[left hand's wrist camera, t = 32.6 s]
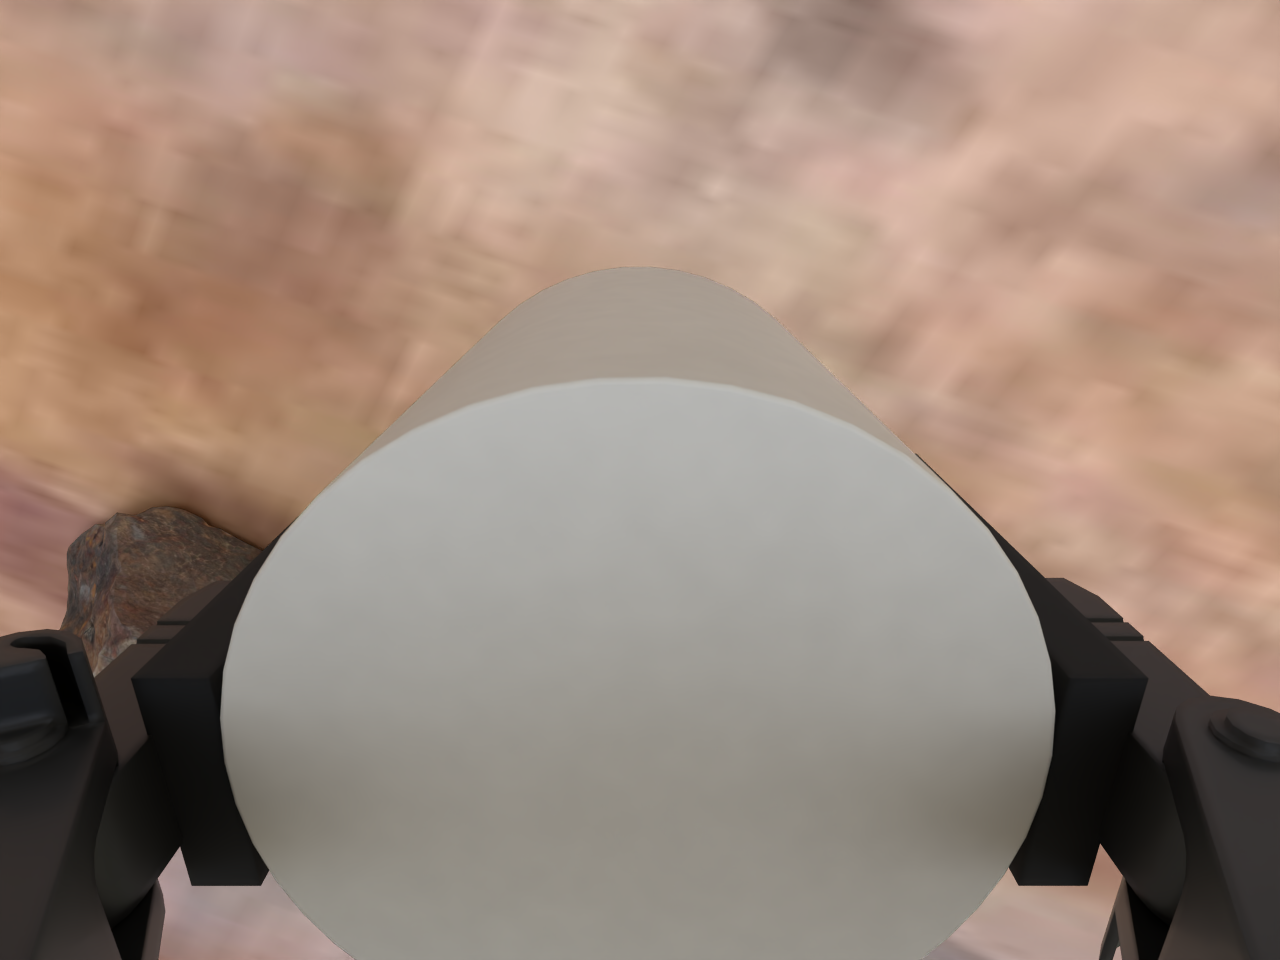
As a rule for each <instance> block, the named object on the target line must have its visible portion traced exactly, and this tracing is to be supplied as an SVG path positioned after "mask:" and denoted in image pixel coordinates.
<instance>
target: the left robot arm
mask: <svg viewBox="0 0 1280 960" xmlns="http://www.w3.org/2000/svg"><path fill="white" fill-rule="evenodd" d="M915 455H916V456H917V457H918V458H919V459H920V460H922V459H921V458H920V457H919V456H918V455H917V454H915ZM922 461H923V460H922ZM923 462H924V461H923ZM924 463H925V462H924ZM925 464H926V463H925ZM926 465H927V464H926ZM927 466H928V465H927ZM928 467H929V468H930V469H931V470H932V471H933V472H934V473H935V474H936V475H937V476H938V477H939V478H940V479H941V480H942V481H943V482H944V483H945V484H946V485H947V486H948V487H949V488H950V489H951V490H952V491H953V492H954V493H955V494H956V495H957V496H958V497H959V498H960V499H961V500H962V501H963V502H964V504H965V505H966V506H967V507H968V508H969V509H970V510H971V511H972V512H973V513H974V514H975V515H976V516H977V517H978V518H979V519H980V521H981V522H982V523H983V524H984V525H985V526H986V527H987V528H988V529H989V531H990V532H991V533H992V535H993V536H994V538H995V539H996V541H997V542H998V544H999V545H1000V547H1001V548H1002V550H1003V551H1004V553H1005V554H1006V556H1007V557H1008V559H1009V560H1010V562H1011V563H1012V564H1013V566H1014V567H1015V569H1016V570H1017V572H1018V574H1019V576H1020V578H1021V580H1022V583H1023V585H1024V587H1025V589H1026V591H1027V593H1028V596H1029V598H1030V600H1031V602H1032V604H1033V606H1034V609H1035V611H1036V613H1037V615H1038V617H1039V621H1040V625H1041V629H1042V632H1043V636H1044V640H1045V643H1046V647H1047V651H1048V655H1049V658H1050V662H1051V670H1052V681H1053V691H1054V702H1055V723H1054V737H1053V751H1052V758H1051V762H1050V767H1049V771H1048V775H1047V779H1046V783H1045V788H1044V792H1043V796H1042V799H1041V802H1040V804H1039V806H1038V809H1037V811H1036V814H1035V816H1034V819H1033V821H1032V824H1031V826H1030V829H1029V831H1028V834H1027V836H1026V838H1025V840H1024V842H1023V843H1022V845H1021V847H1020V848H1019V850H1018V852H1017V854H1016V855H1015V857H1014V859H1013V860H1012V862H1011V864H1010V865H1009V869H1010V871H1011V872H1012V874H1013V876H1014V878H1015V880H1016V882H1017V884H1018V885H1019V886H1088V883H1089V879H1090V876H1091V872H1092V869H1093V866H1094V862H1095V859H1096V855H1097V852H1098V849H1099V845H1100V844H1101V845H1102V846H1103V848H1104V849H1105V851H1106V852H1107V854H1108V855H1109V856H1110V858H1111V859H1112V861H1113V862H1114V864H1115V865H1116V866H1117V868H1118V869H1119V871H1120V872H1121V874H1122V875H1123V878H1122V881H1121V884H1120V887H1119V890H1118V894H1117V897H1116V900H1115V903H1114V906H1113V909H1112V913H1111V916H1110V919H1109V922H1108V925H1107V928H1106V932H1105V935H1104V938H1103V941H1102V944H1101V950H1100V956H1099V960H1113V957H1114V954H1115V951H1116V948H1117V947H1119V946H1120V948H1121V955H1122V960H1280V713H1278V712H1276V711H1274V710H1272V709H1269V708H1266V707H1262V706H1259V705H1256V704H1252V703H1249V702H1246V701H1242V700H1239V699H1232V698H1224V697H1216V696H1210V695H1209V694H1208V693H1206V692H1205V691H1204V690H1203V689H1202V688H1201V687H1200V686H1199V685H1197V684H1196V683H1195V682H1194V681H1193V680H1192V679H1191V678H1190V677H1188V676H1187V675H1186V674H1185V673H1184V672H1183V671H1182V670H1181V669H1180V668H1178V667H1177V666H1176V665H1175V664H1174V663H1173V662H1172V661H1171V660H1169V659H1168V658H1167V657H1166V656H1165V655H1164V654H1163V653H1162V652H1160V651H1159V650H1158V649H1157V648H1156V647H1155V646H1154V645H1153V644H1152V643H1150V642H1149V641H1144V639H1143V635H1141V634H1140V633H1139V632H1138V631H1137V630H1136V629H1135V628H1134V627H1132V626H1131V625H1130V624H1129V623H1128V622H1123V618H1122V617H1121V616H1120V615H1119V614H1118V613H1117V612H1116V611H1115V610H1113V609H1112V608H1111V607H1110V606H1109V605H1108V604H1107V603H1106V602H1104V601H1103V600H1102V599H1101V598H1100V597H1099V596H1097V595H1095V594H1093V593H1091V592H1089V591H1087V590H1086V589H1084V588H1082V587H1080V586H1078V585H1076V584H1074V583H1072V582H1070V581H1068V580H1066V579H1065V578H1044V577H1043V576H1042V575H1041V574H1040V573H1039V572H1038V571H1037V570H1036V569H1035V568H1034V567H1033V566H1032V565H1031V564H1030V563H1029V562H1028V561H1027V560H1026V559H1025V558H1024V557H1023V556H1022V555H1021V554H1020V553H1019V552H1018V551H1016V550H1015V549H1014V548H1013V547H1012V546H1011V545H1010V544H1009V543H1008V542H1007V541H1006V540H1005V539H1004V538H1003V537H1002V536H1001V535H1000V534H999V533H998V532H997V531H996V530H995V529H994V528H993V527H992V526H991V525H990V524H989V523H987V522H986V521H985V520H984V519H983V518H982V517H981V516H980V515H979V514H978V513H977V512H976V511H975V510H974V509H973V508H972V507H971V506H970V505H969V504H968V503H967V502H966V501H965V500H964V499H963V498H962V497H961V496H960V495H959V494H957V493H956V492H955V491H954V490H953V489H952V488H951V487H950V486H949V485H948V484H947V483H946V482H945V481H944V480H943V479H942V478H941V477H940V476H939V475H938V474H937V473H936V472H935V471H934V470H933V469H932V468H931V467H930V466H928ZM298 517H299V516H298ZM298 517H297V518H298ZM297 518H296V519H297ZM296 519H295V520H296ZM295 520H294V521H295ZM294 521H293V522H294ZM293 522H292V523H293ZM292 523H291V524H292ZM291 524H290V525H289V526H288V527H287V528H286V529H285V530H284V531H283V532H282V533H281V534H280V535H279V536H277V537H276V538H275V539H274V540H273V541H272V542H271V543H270V544H269V545H268V546H267V547H266V548H265V549H264V550H263V551H262V552H261V553H260V554H259V555H258V556H257V557H256V558H255V559H254V560H253V561H252V562H251V563H250V564H248V565H247V566H246V567H245V568H244V569H243V570H242V571H241V572H240V573H239V574H238V575H237V576H236V577H235V578H234V579H233V580H232V581H215V582H213V583H211V584H209V585H207V586H205V587H203V588H201V589H200V590H198V591H196V592H194V593H192V594H190V595H188V596H186V597H184V598H183V599H181V600H180V601H179V602H178V603H176V604H175V605H174V606H173V607H172V608H171V609H170V610H169V611H168V612H166V613H165V614H164V615H163V616H162V617H161V618H160V619H159V620H158V621H157V625H152V626H151V627H150V628H149V629H148V630H146V631H145V632H144V633H143V634H142V635H141V636H140V637H139V638H138V639H137V643H136V644H131V645H130V646H129V647H128V648H126V649H125V650H124V651H123V652H122V653H121V654H120V655H119V656H118V657H116V658H115V659H114V660H113V661H112V662H111V663H110V664H109V665H108V666H106V667H105V668H104V669H103V670H102V671H101V672H100V673H99V674H98V675H96V676H95V677H94V675H93V672H92V669H91V666H90V663H89V660H88V656H87V653H86V650H85V647H84V644H83V641H82V639H81V638H80V637H78V636H76V635H75V634H73V633H71V632H70V631H60V630H51V629H44V630H35V631H26V632H18V633H14V634H10V635H6V636H2V637H0V960H158V958H159V951H160V944H161V937H162V930H163V924H164V917H165V906H164V899H163V894H162V890H161V887H160V884H159V881H158V877H159V876H160V874H161V873H162V871H163V870H164V868H165V867H166V866H167V864H168V863H169V861H170V860H171V858H172V857H173V856H174V854H175V853H176V851H177V850H178V848H179V847H181V851H182V854H183V857H184V861H185V864H186V868H187V871H188V874H189V878H190V881H191V885H192V886H261V884H262V883H263V881H264V879H265V877H266V875H267V873H268V872H269V869H268V867H267V866H266V864H265V862H264V861H263V859H262V857H261V856H260V854H259V853H258V851H257V849H256V848H255V846H254V844H253V843H252V840H251V838H250V836H249V833H248V831H247V829H246V827H245V824H244V822H243V820H242V817H241V815H240V813H239V810H238V808H237V806H236V803H235V800H234V796H233V792H232V788H231V785H230V781H229V777H228V773H227V770H226V766H225V762H224V752H223V742H222V732H221V722H220V712H221V697H222V682H223V670H224V666H225V662H226V657H227V653H228V649H229V645H230V641H231V636H232V632H233V628H234V624H235V622H236V619H237V617H238V615H239V612H240V610H241V608H242V605H243V603H244V601H245V598H246V596H247V594H248V591H249V589H250V587H251V584H252V582H253V579H254V578H255V576H256V575H257V573H258V572H259V570H260V568H261V567H262V565H263V564H264V562H265V561H266V559H267V557H268V556H269V554H270V553H271V551H272V550H273V548H274V547H275V545H276V543H277V542H278V540H279V539H280V537H281V536H282V534H283V533H284V532H285V531H286V530H287V529H288V528H289V527H290V526H291Z"/></svg>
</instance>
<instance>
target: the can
mask: <svg viewBox="0 0 1280 960" xmlns="http://www.w3.org/2000/svg"><path fill="white" fill-rule="evenodd" d="M220 722H221V732H222V742H223V752H224V762H225V766H226V770H227V773H228V777H229V781H230V785H231V788H232V792H233V796H234V800H235V803H236V806H237V808H238V810H239V813H240V815H241V817H242V820H243V822H244V824H245V827H246V829H247V831H248V833H249V836H250V838H251V840H252V843H253V844H254V846H255V848H256V849H257V851H258V853H259V854H260V856H261V857H262V859H263V861H264V862H265V864H266V866H267V867H268V869H269V870H270V872H271V874H272V875H273V877H274V878H275V880H276V881H277V883H278V884H279V885H280V886H281V887H282V889H283V890H284V891H285V892H286V894H287V895H288V896H289V897H290V898H291V900H292V901H293V902H294V903H295V905H296V906H297V907H298V908H299V909H300V911H301V912H302V913H303V914H304V915H305V916H306V917H307V918H308V919H309V920H310V921H311V922H312V923H313V924H314V925H315V926H316V927H317V928H318V929H320V930H321V931H322V932H323V933H324V934H325V935H326V936H327V937H328V938H329V939H330V940H331V941H332V942H333V943H334V944H336V945H337V946H338V947H339V948H341V949H342V950H343V951H345V952H346V953H347V954H349V955H350V956H351V957H353V958H354V959H355V960H921V959H922V958H923V957H925V956H926V955H927V954H929V953H930V952H931V951H932V950H934V949H935V948H936V947H937V946H939V945H940V944H941V943H942V942H944V941H945V940H946V939H947V938H948V937H949V936H950V935H951V934H952V933H953V932H954V931H956V930H957V929H958V928H959V927H960V926H961V925H962V924H963V923H964V922H965V921H966V920H967V919H968V918H969V917H970V916H971V915H972V914H973V913H974V912H975V911H976V910H977V909H978V907H979V906H980V905H981V904H982V902H983V901H984V900H985V898H986V897H987V896H988V895H989V893H990V892H991V891H992V889H993V888H994V887H995V886H996V884H997V883H998V882H999V881H1000V879H1001V878H1002V877H1003V875H1004V874H1005V872H1006V871H1007V869H1008V867H1009V865H1010V864H1011V862H1012V860H1013V859H1014V857H1015V855H1016V854H1017V852H1018V850H1019V848H1020V847H1021V845H1022V843H1023V842H1024V840H1025V838H1026V836H1027V834H1028V831H1029V829H1030V826H1031V824H1032V821H1033V819H1034V816H1035V814H1036V811H1037V809H1038V806H1039V804H1040V802H1041V799H1042V796H1043V792H1044V788H1045V783H1046V779H1047V775H1048V771H1049V767H1050V762H1051V758H1052V751H1053V737H1054V723H1055V702H1054V691H1053V681H1052V670H1051V662H1050V658H1049V655H1048V651H1047V647H1046V643H1045V640H1044V636H1043V632H1042V629H1041V625H1040V621H1039V617H1038V615H1037V613H1036V611H1035V609H1034V606H1033V604H1032V602H1031V600H1030V598H1029V596H1028V593H1027V591H1026V589H1025V587H1024V585H1023V583H1022V580H1021V578H1020V576H1019V574H1018V572H1017V570H1016V569H1015V567H1014V566H1013V564H1012V563H1011V562H1010V560H1009V559H1008V557H1007V556H1006V554H1005V553H1004V551H1003V550H1002V548H1001V547H1000V545H999V544H998V542H997V541H996V539H995V538H994V536H993V535H992V533H991V532H990V531H989V529H988V528H987V527H986V526H985V525H984V524H983V523H982V522H981V521H980V519H979V518H978V517H977V516H976V515H975V514H974V513H973V512H972V511H971V510H970V509H969V508H968V507H967V506H966V505H965V504H964V502H963V501H962V500H961V499H960V498H959V497H958V496H957V495H956V494H955V493H954V492H953V491H952V490H951V489H950V488H949V487H948V486H947V485H946V484H945V483H944V482H943V481H942V480H941V479H940V478H939V477H938V476H937V475H936V474H935V473H934V472H933V471H932V470H931V469H930V468H929V467H928V466H927V465H926V464H925V463H924V462H923V461H922V460H920V459H919V458H918V457H917V456H916V455H915V454H914V453H913V452H912V451H911V450H910V449H909V448H908V447H907V446H906V445H905V444H904V443H903V442H902V441H901V440H900V439H899V438H898V437H897V436H896V435H895V434H894V433H893V432H892V431H891V430H890V429H889V428H888V427H886V426H885V425H884V424H883V423H882V422H881V421H880V420H879V419H878V418H877V417H876V416H875V415H874V414H873V413H872V412H871V411H870V410H869V409H868V408H867V407H866V406H865V405H864V404H863V403H862V402H861V401H860V400H859V399H858V398H857V397H856V396H855V395H854V394H852V393H851V392H850V391H849V390H848V389H847V388H846V387H845V386H844V385H843V384H842V383H841V382H840V381H839V380H838V379H837V378H836V377H835V376H834V375H833V374H832V373H831V372H830V371H829V370H828V369H827V368H826V367H825V366H824V365H823V364H822V363H821V362H820V361H818V360H817V359H816V358H815V357H814V356H813V355H812V354H811V353H810V352H809V351H808V350H807V349H806V348H805V347H804V346H803V345H802V344H801V343H800V342H799V341H798V340H797V339H796V338H795V337H794V336H793V335H792V334H791V333H790V332H789V331H788V330H787V329H786V328H784V327H783V326H782V325H781V324H780V323H779V322H778V321H777V320H776V319H775V318H774V317H773V316H771V315H770V314H769V313H768V312H766V311H765V310H764V309H763V308H761V307H760V306H759V305H758V304H756V303H755V302H753V301H752V300H750V299H748V298H747V297H745V296H743V295H742V294H740V293H738V292H737V291H735V290H733V289H732V288H729V287H727V286H725V285H722V284H720V283H717V282H715V281H713V280H710V279H708V278H705V277H702V276H698V275H694V274H690V273H687V272H683V271H679V270H672V269H664V268H656V267H620V268H613V269H606V270H600V271H594V272H590V273H587V274H583V275H580V276H577V277H573V278H570V279H567V280H565V281H562V282H560V283H558V284H556V285H553V286H551V287H549V288H547V289H544V290H542V291H541V292H539V293H537V294H536V295H534V296H533V297H531V298H529V299H528V300H526V301H525V302H523V303H521V304H520V305H518V306H517V307H516V308H515V309H514V310H512V311H511V312H510V313H509V314H508V315H506V316H505V317H504V318H503V319H502V320H500V321H499V322H498V323H497V324H496V325H495V326H494V327H493V328H492V329H491V330H490V331H489V332H488V333H487V334H486V335H485V336H484V337H482V338H481V339H480V340H479V341H478V342H477V343H476V344H475V345H474V346H473V347H472V348H471V349H470V350H469V351H468V352H467V353H466V354H465V355H464V356H463V357H462V358H461V359H459V360H458V361H457V362H456V363H455V364H454V365H453V366H452V367H451V368H450V369H449V370H448V371H447V372H446V373H445V374H444V375H443V376H442V377H441V378H440V379H439V380H438V381H436V382H435V383H434V384H433V385H432V386H431V387H430V388H429V389H428V390H427V391H426V392H425V393H424V394H423V395H422V396H421V397H420V398H419V399H418V400H417V401H416V402H414V403H413V404H412V405H411V406H410V407H409V408H408V409H407V410H406V411H405V412H404V413H403V414H402V415H401V416H400V417H399V418H398V419H397V420H396V421H395V422H394V423H393V424H391V425H390V426H389V427H388V428H387V429H386V430H385V431H384V432H383V433H382V434H381V435H380V436H379V437H378V438H377V439H376V440H375V441H374V442H373V443H372V444H371V445H370V446H368V447H367V448H366V449H365V450H364V451H363V452H362V453H361V454H360V455H359V456H358V457H357V458H356V459H355V460H354V461H353V462H352V463H351V464H350V465H349V466H348V467H347V468H345V469H344V470H343V471H342V472H341V473H340V474H339V475H338V476H337V477H336V478H335V479H334V480H333V481H332V482H331V483H330V484H329V485H328V486H327V487H326V488H325V489H323V490H322V491H321V492H320V493H319V494H318V495H317V496H316V497H315V499H314V500H313V501H312V502H311V503H310V504H309V505H308V506H307V508H306V509H305V510H304V511H303V512H302V513H301V514H300V515H299V517H298V518H297V519H296V520H295V521H294V522H293V523H292V524H291V526H290V527H289V528H288V529H287V530H286V531H285V532H284V533H283V534H282V536H281V537H280V539H279V540H278V542H277V543H276V545H275V547H274V548H273V550H272V551H271V553H270V554H269V556H268V557H267V559H266V561H265V562H264V564H263V565H262V567H261V568H260V570H259V572H258V573H257V575H256V576H255V578H254V579H253V582H252V584H251V587H250V589H249V591H248V594H247V596H246V598H245V601H244V603H243V605H242V608H241V610H240V612H239V615H238V617H237V619H236V622H235V624H234V628H233V632H232V636H231V641H230V645H229V649H228V653H227V657H226V662H225V666H224V670H223V682H222V697H221V712H220Z"/></svg>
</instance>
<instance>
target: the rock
mask: <svg viewBox="0 0 1280 960" xmlns="http://www.w3.org/2000/svg"><path fill="white" fill-rule="evenodd" d="M261 552H262V550H260V549H257V548H255V547H253V546H251V545H249V544H247V543H245V542H243V541H241V540H239V539H237V538H236V537H234V536H232V535H230V534H228V533H227V532H225V531H223V530H221V529H219V528H215V527H212V526H209V525H208V524H207V523H206V522H205V521H204V520H203V519H202V518H201V517H199V516H196V515H194V514H192V513H190V512H188V511H186V510H183V509H178V508H173V507H153V508H150V509H148V510H147V511H145V512H143V513H141V514H138V515H128V514H122V513H116V514H115V515H114V516H113V517H112V518H111V519H110V520H108V521H107V522H106V523H105V524H97V525H94V526H93V527H91V528H90V529H89V530H87V531H86V532H84V533H83V534H81V535H80V536H79V537H78V538H77V539H76V540H75V541H74V542H73V543H72V544H71V545H70V546H69V548H68V552H67V568H68V574H69V581H68V601H67V611H66V615H65V618H64V620H63V623H62V625H61V628H60V631H70V632H71V633H73V634H75V635H76V636H78V637H80V638H81V639H82V641H83V644H84V647H85V650H86V653H87V656H88V660H89V663H90V666H91V669H92V672H93V675H94V677H95V676H96V675H98V674H99V673H100V672H101V671H102V670H103V669H104V668H105V667H106V666H108V665H109V664H110V663H111V662H112V661H113V660H114V659H115V658H116V657H118V656H119V655H120V654H121V653H122V652H123V651H124V650H125V649H126V648H128V647H129V646H130V645H131V644H136V643H137V639H138V638H139V637H140V636H141V635H142V634H143V633H144V632H145V631H146V630H148V629H149V628H150V627H151V626H152V625H157V621H158V620H159V619H160V618H161V617H162V616H163V615H164V614H165V613H166V612H168V611H169V610H170V609H171V608H172V607H173V606H174V605H175V604H176V603H178V602H179V601H180V600H181V599H183V598H184V597H186V596H188V595H190V594H192V593H194V592H196V591H198V590H200V589H201V588H203V587H205V586H207V585H209V584H211V583H213V582H215V581H232V580H233V579H234V578H235V577H236V576H237V575H238V574H239V573H240V572H241V571H242V570H243V569H244V568H245V567H246V566H247V565H248V564H250V563H251V562H252V561H253V560H254V559H255V558H256V557H257V556H258V555H259V554H260V553H261Z"/></svg>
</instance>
